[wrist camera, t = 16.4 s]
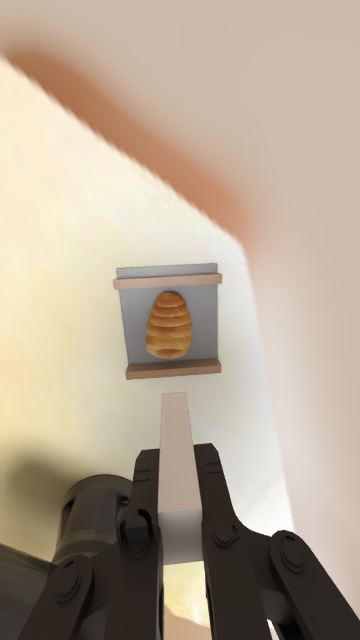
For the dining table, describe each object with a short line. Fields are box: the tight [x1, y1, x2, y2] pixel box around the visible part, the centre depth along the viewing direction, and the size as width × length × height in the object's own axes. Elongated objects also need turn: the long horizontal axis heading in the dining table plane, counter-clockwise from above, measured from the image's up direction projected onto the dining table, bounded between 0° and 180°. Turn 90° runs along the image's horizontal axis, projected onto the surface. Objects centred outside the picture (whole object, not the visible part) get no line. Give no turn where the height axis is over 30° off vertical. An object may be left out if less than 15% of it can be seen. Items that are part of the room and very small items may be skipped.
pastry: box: [146, 292, 192, 359], centre depth 30 cm, size 9×7×4 cm
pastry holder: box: [113, 263, 222, 380], centre depth 31 cm, size 14×17×3 cm
